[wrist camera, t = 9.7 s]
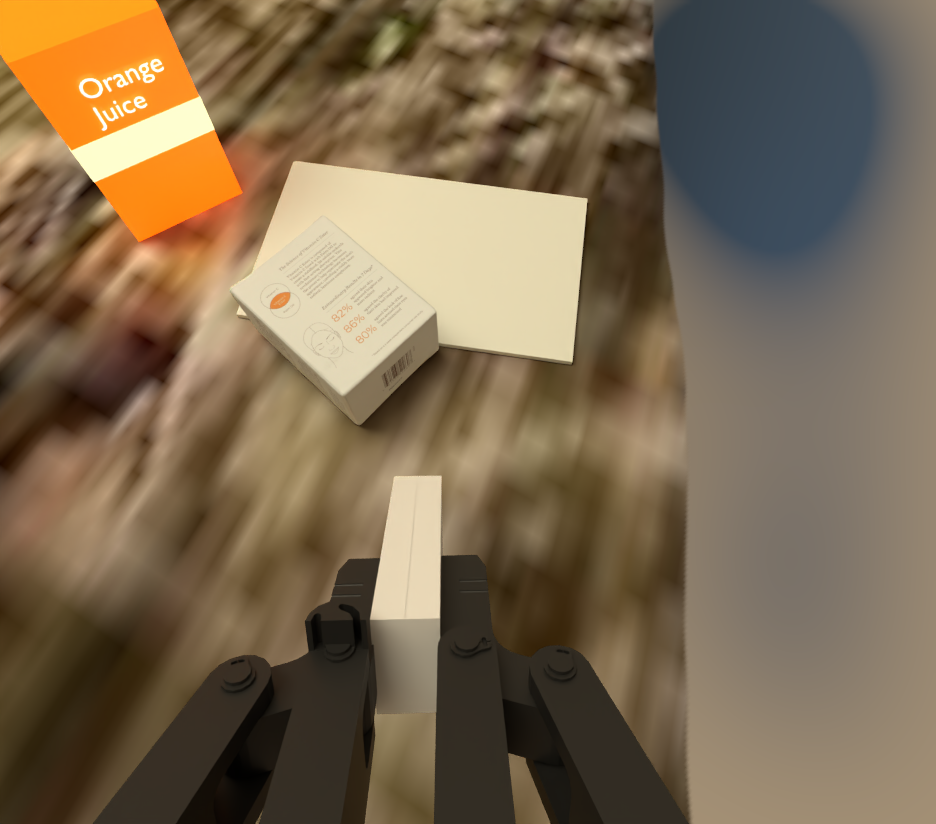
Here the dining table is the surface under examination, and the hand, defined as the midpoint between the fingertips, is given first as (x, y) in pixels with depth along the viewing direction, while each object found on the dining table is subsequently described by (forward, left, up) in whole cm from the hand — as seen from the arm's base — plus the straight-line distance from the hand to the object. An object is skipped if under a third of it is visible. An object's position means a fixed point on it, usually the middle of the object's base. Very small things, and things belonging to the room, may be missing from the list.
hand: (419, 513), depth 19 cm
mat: (-5, +24, -17) cm, 30 cm away
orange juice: (-26, +27, -17) cm, 42 cm away
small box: (-4, +12, -14) cm, 19 cm away
